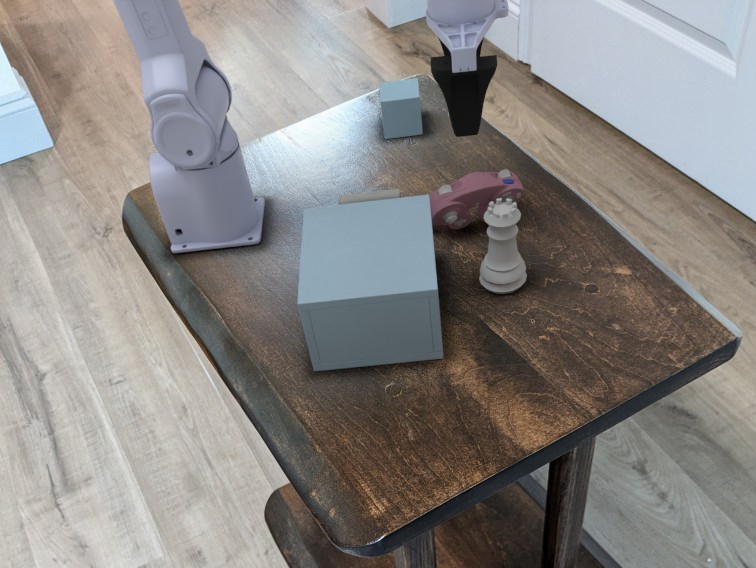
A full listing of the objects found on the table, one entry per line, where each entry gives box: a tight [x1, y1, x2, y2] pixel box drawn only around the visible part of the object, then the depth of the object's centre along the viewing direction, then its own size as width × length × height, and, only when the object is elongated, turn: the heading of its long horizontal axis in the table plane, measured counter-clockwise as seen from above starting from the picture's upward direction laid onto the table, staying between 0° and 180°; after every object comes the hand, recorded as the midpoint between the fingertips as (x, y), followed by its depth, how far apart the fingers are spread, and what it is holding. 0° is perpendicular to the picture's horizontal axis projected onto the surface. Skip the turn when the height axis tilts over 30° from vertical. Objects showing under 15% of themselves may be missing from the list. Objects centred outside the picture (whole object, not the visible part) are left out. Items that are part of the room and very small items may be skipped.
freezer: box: [296, 193, 444, 372], centre depth 77 cm, size 14×12×8 cm
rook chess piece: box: [478, 198, 528, 295], centre depth 78 cm, size 4×4×8 cm
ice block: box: [379, 77, 424, 140], centre depth 99 cm, size 4×4×4 cm
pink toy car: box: [429, 168, 525, 230], centre depth 85 cm, size 10×5×7 cm, turn 105°
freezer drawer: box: [338, 188, 402, 205], centre depth 80 cm, size 17×10×6 cm, turn 1°
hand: (465, 112), depth 81 cm, fingers open, 7 cm apart
